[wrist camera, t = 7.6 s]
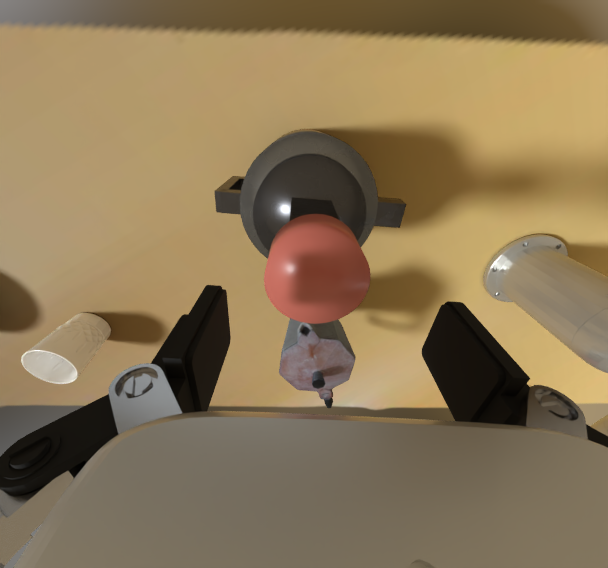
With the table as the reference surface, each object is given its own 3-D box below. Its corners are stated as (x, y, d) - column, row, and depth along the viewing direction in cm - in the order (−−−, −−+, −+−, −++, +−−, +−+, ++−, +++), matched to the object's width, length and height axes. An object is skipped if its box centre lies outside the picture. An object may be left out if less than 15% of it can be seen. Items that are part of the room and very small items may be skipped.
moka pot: (326, 250, 42) (346, 336, 25) (349, 319, 50) (375, 421, 33) (272, 267, 44) (255, 359, 27) (302, 332, 51) (303, 435, 34)
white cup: (61, 309, 47) (10, 349, 39) (106, 310, 48) (64, 350, 39) (79, 340, 52) (36, 383, 43) (120, 341, 52) (85, 384, 43)
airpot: (383, 136, 34) (500, 155, 14) (363, 231, 41) (423, 333, 21) (238, 122, 33) (149, 122, 13) (242, 222, 39) (188, 321, 20)
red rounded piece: (347, 189, 21) (381, 236, 12) (337, 251, 24) (359, 325, 15) (278, 183, 21) (264, 228, 12) (276, 247, 24) (264, 321, 15)
